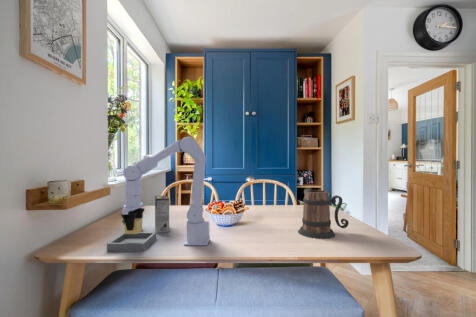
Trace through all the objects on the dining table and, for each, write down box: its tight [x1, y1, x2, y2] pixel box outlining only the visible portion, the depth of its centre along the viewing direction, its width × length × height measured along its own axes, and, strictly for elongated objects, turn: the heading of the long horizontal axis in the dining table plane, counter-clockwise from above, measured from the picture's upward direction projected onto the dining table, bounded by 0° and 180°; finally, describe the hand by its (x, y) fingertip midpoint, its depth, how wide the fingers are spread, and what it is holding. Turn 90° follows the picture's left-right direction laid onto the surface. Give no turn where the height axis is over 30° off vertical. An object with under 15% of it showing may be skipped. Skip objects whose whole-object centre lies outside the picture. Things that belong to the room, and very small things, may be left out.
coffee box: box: [154, 195, 170, 234], centre depth 118 cm, size 9×6×16 cm
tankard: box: [297, 189, 349, 240], centre depth 113 cm, size 24×17×20 cm
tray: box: [106, 231, 157, 252], centre depth 98 cm, size 14×14×3 cm
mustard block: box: [124, 218, 143, 234], centre depth 98 cm, size 5×5×5 cm
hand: (133, 228), depth 98 cm, fingers closed on mustard block, 5 cm apart
